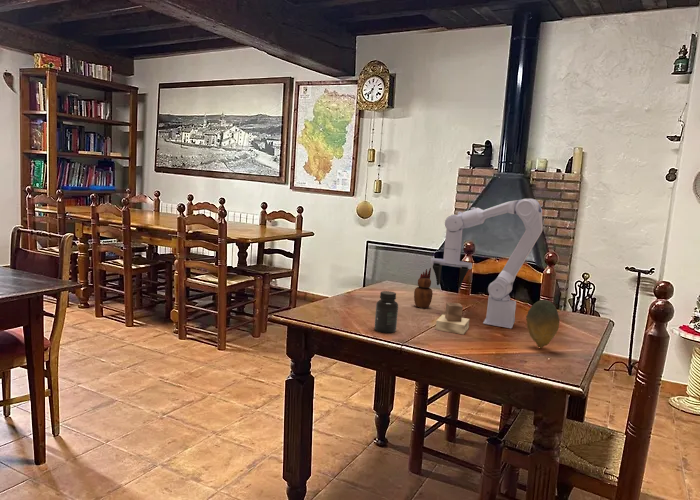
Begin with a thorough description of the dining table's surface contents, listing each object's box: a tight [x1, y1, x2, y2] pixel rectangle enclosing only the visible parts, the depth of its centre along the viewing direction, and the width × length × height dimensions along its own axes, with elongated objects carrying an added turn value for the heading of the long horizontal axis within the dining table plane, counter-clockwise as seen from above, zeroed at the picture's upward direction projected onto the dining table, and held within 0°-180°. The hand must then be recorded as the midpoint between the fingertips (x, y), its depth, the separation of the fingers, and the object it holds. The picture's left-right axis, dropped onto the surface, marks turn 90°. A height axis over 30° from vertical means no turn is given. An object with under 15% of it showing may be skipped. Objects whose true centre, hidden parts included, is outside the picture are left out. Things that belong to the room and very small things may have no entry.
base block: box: [435, 314, 470, 335], centre depth 171 cm, size 9×9×3 cm
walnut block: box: [444, 302, 464, 322], centre depth 171 cm, size 4×4×5 cm
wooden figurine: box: [413, 267, 433, 309], centre depth 197 cm, size 7×6×15 cm
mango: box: [525, 299, 561, 349], centre depth 156 cm, size 10×6×15 cm, turn 48°
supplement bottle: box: [374, 290, 399, 334], centre depth 164 cm, size 7×7×12 cm
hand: (448, 286), depth 189 cm, fingers open, 7 cm apart
